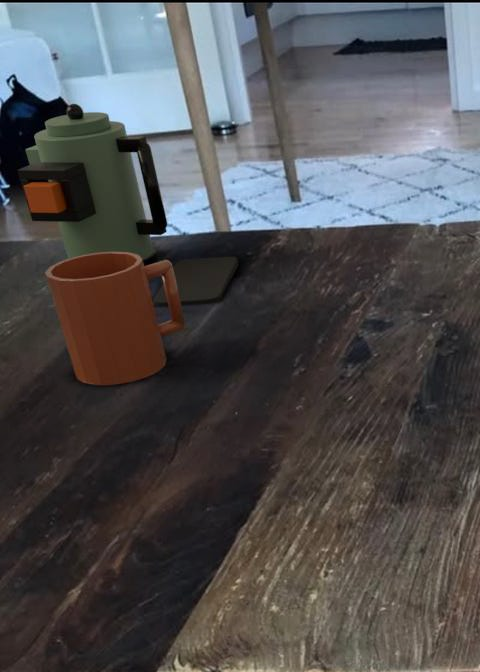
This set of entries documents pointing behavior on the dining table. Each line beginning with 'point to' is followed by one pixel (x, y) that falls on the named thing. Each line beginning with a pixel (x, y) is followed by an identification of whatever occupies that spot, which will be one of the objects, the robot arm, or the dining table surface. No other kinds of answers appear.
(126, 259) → the mug
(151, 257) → the kettle
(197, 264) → the phone
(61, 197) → the switch
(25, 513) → the dining table surface
